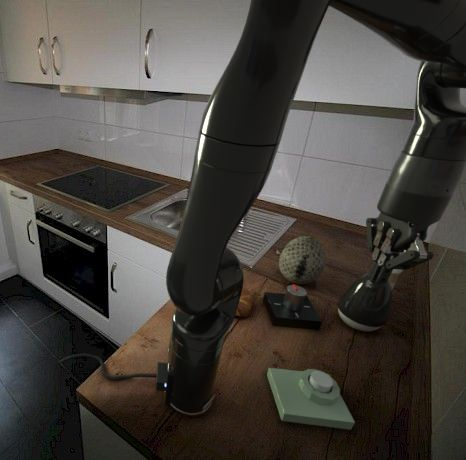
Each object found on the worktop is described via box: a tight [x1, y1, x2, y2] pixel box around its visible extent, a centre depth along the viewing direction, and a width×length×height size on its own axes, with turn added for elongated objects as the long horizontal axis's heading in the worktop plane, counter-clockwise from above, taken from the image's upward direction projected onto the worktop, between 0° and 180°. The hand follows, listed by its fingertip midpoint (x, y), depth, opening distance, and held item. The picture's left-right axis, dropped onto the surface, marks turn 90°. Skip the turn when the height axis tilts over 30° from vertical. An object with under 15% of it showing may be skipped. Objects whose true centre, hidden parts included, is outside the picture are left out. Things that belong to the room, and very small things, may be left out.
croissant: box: [235, 287, 256, 318], centre depth 86 cm, size 12×11×4 cm
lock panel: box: [262, 291, 323, 331], centre depth 82 cm, size 11×10×3 cm
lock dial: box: [283, 283, 308, 311], centre depth 81 cm, size 4×4×5 cm
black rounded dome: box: [337, 272, 393, 332], centre depth 77 cm, size 10×10×15 cm
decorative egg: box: [278, 235, 327, 285], centre depth 93 cm, size 12×12×15 cm
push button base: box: [266, 367, 356, 431], centre depth 61 cm, size 12×10×4 cm
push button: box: [309, 370, 333, 393], centre depth 60 cm, size 4×4×2 cm
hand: (375, 281), depth 54 cm, fingers closed
